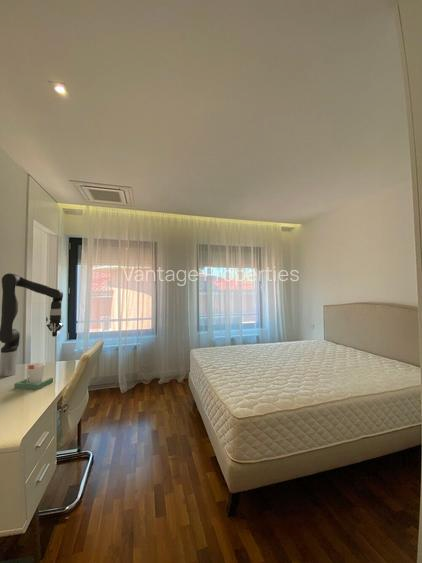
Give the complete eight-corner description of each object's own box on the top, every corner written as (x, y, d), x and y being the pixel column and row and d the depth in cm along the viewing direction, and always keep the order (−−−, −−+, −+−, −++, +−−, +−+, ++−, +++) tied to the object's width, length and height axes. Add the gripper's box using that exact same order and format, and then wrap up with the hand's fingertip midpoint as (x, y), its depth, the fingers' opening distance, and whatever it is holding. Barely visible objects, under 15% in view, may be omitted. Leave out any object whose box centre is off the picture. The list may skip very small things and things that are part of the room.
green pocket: (14, 388, 147) (15, 364, 148) (31, 380, 159) (32, 358, 160) (37, 389, 145) (38, 365, 146) (52, 382, 158) (54, 359, 159)
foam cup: (47, 382, 157) (48, 363, 158) (36, 387, 148) (37, 367, 149) (35, 381, 158) (36, 362, 159) (23, 387, 149) (24, 366, 150)
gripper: (44, 314, 179) (42, 337, 178) (59, 315, 177) (58, 337, 176) (51, 313, 186) (50, 335, 185) (66, 314, 185) (65, 335, 184)
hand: (54, 336), depth 181 cm, fingers closed
